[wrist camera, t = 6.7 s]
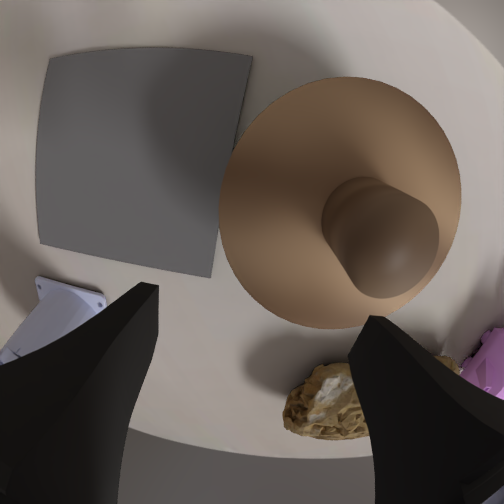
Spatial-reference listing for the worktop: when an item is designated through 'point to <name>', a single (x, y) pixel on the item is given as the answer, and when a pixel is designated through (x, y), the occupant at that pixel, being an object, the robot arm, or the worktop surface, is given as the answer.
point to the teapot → (487, 364)
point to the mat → (138, 153)
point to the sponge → (331, 404)
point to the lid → (339, 203)
